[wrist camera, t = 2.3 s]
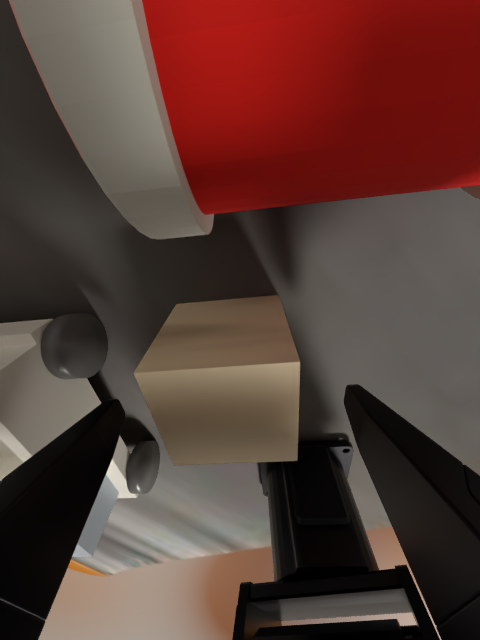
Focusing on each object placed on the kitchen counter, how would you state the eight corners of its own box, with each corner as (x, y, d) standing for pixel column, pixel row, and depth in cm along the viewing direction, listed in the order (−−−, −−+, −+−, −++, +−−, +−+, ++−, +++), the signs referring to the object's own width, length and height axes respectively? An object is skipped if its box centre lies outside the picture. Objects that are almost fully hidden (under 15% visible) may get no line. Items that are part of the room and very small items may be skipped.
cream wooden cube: (280, 373, 13) (297, 460, 9) (196, 378, 14) (173, 465, 9) (278, 294, 11) (300, 361, 7) (176, 303, 11) (133, 373, 7)
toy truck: (163, 456, 18) (130, 561, 13) (43, 461, 18) (-33, 562, 13) (92, 302, 11) (-30, 390, 6) (-86, 318, 12) (-323, 409, 7)
